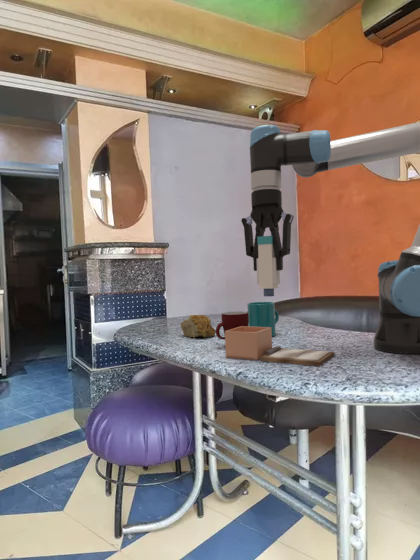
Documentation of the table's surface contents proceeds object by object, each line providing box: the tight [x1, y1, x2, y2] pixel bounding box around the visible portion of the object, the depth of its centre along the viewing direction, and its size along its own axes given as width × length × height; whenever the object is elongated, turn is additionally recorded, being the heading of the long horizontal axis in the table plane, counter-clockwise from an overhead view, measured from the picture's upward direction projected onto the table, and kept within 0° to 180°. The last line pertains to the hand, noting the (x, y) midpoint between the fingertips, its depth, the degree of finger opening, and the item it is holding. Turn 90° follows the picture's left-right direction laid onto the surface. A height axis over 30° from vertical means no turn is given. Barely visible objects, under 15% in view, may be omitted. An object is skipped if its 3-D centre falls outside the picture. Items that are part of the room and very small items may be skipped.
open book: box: [259, 345, 335, 367], centre depth 103 cm, size 15×12×2 cm
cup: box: [246, 301, 280, 338], centre depth 139 cm, size 9×12×11 cm
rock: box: [179, 314, 216, 339], centre depth 144 cm, size 12×9×10 cm
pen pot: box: [224, 326, 273, 361], centre depth 109 cm, size 9×9×7 cm
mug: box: [215, 310, 249, 341], centre depth 122 cm, size 11×8×10 cm
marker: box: [257, 235, 279, 297], centre depth 103 cm, size 4×4×15 cm
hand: (268, 283), depth 103 cm, fingers closed on marker, 4 cm apart
